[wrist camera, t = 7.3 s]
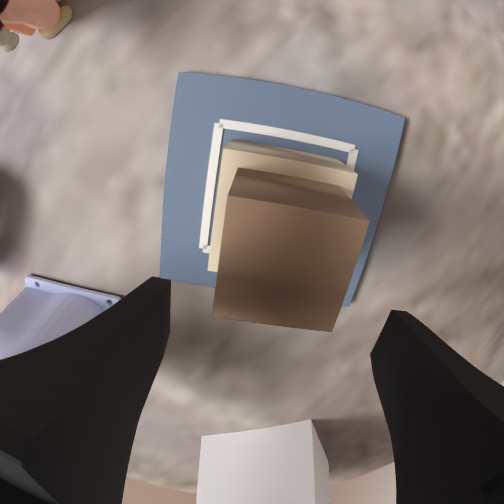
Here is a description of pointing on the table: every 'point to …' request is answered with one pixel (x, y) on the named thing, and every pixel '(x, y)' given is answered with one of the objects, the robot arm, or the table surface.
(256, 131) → the board
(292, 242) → the walnut cube
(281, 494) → the milk
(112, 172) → the table surface
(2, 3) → the grandmother figurine
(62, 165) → the table surface
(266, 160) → the maple block
